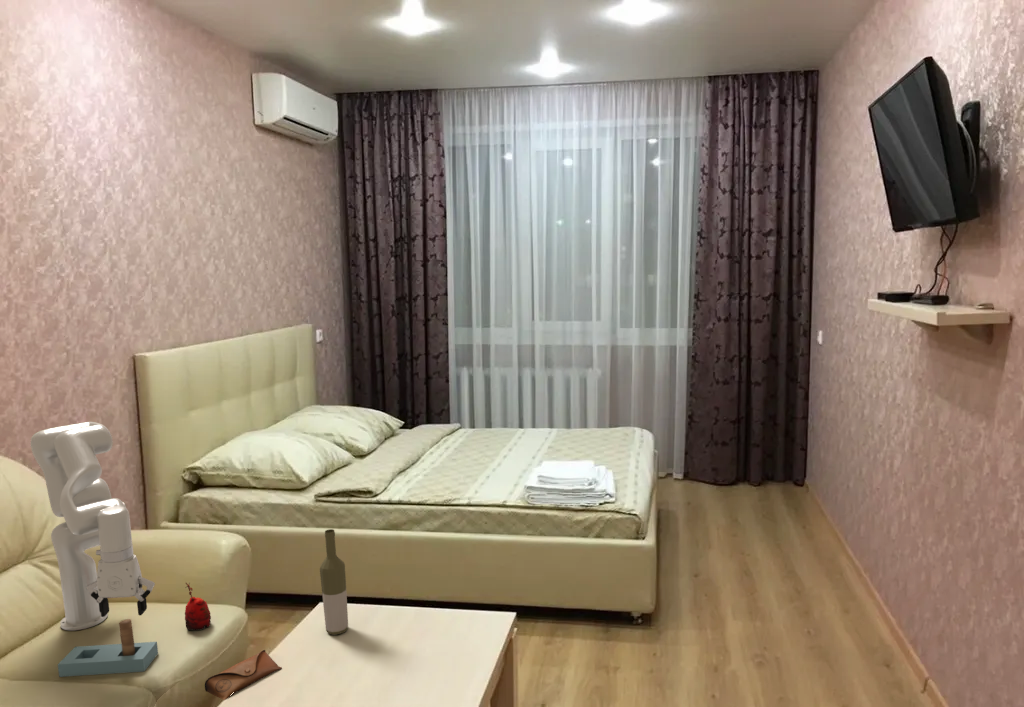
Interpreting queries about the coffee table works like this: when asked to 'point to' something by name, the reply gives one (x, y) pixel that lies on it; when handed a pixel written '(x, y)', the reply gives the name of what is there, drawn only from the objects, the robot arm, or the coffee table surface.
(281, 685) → the coffee table surface
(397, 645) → the coffee table surface
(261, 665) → the sunglasses case
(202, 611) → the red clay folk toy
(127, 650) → the peg
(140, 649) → the hole block
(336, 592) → the bottle
